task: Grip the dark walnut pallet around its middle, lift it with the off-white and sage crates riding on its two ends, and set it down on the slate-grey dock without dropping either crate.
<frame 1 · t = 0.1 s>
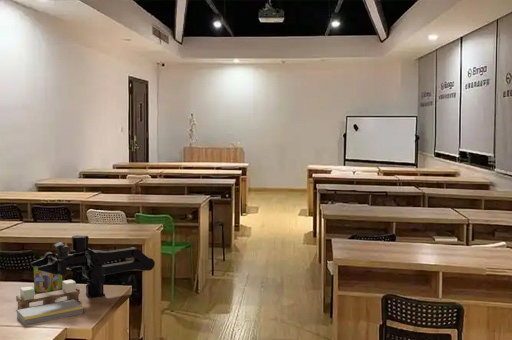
hand: (34, 266, 225), 17 cm above the table, tool horizontal, fingers open, 9 cm apart
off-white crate: (69, 290, 234), point 4 cm above the table, touching pallet
pallet: (48, 303, 229), on the table, touching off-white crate, sage crate
dock: (50, 315, 215), on the table
sage crate: (27, 298, 224), point 4 cm above the table, touching pallet
chalk box: (48, 290, 249), on the table
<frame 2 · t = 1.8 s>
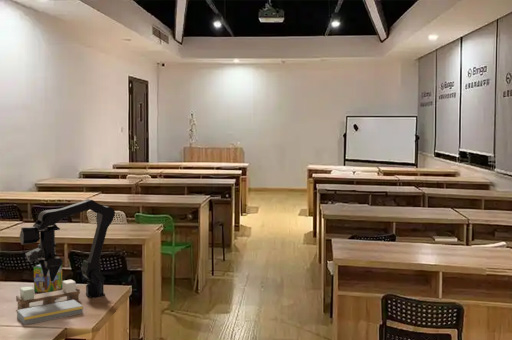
hand: (48, 278, 228), 11 cm above the table, tool pointing down, fingers open, 9 cm apart
nothing on the table moved.
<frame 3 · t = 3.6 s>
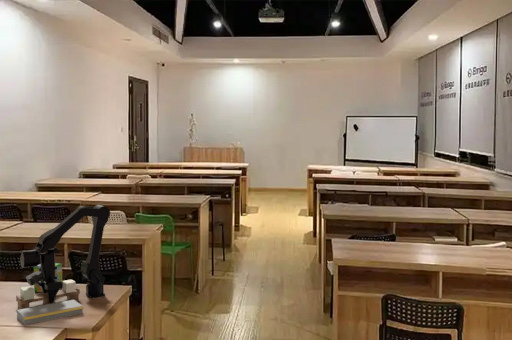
hand: (48, 301, 229), 1 cm above the table, tool pointing down, fingers closed on pallet, 6 cm apart
pallet: (48, 303, 229), on the table, touching gripper, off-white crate, sage crate
everything else where it was.
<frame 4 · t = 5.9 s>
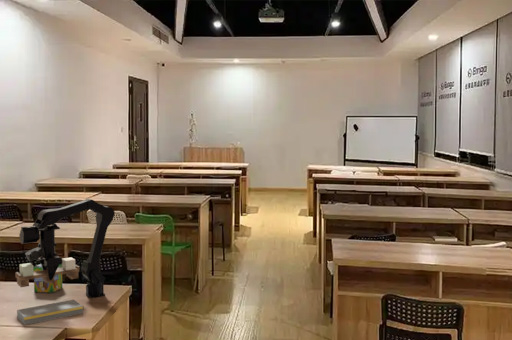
hand: (48, 278, 228), 11 cm above the table, tool pointing down, fingers closed on pallet, 6 cm apart
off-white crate: (68, 268, 233), point 14 cm above the table, touching pallet
pallet: (48, 280, 228), point 10 cm above the table, touching gripper, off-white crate, sage crate
sage crate: (26, 274, 223), point 14 cm above the table, touching pallet
everything else where it was.
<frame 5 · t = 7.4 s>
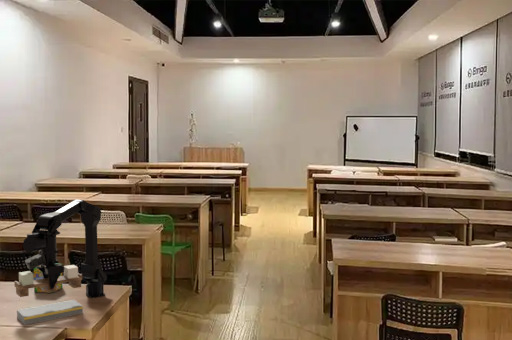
hand: (49, 286, 215), 11 cm above the table, tool pointing down, fingers closed on pallet, 6 cm apart
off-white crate: (70, 276, 220), point 14 cm above the table, touching pallet
pallet: (49, 290, 215), point 10 cm above the table, touching gripper, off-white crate, sage crate
sage crate: (26, 283, 209), point 14 cm above the table, touching pallet
everything else where it was.
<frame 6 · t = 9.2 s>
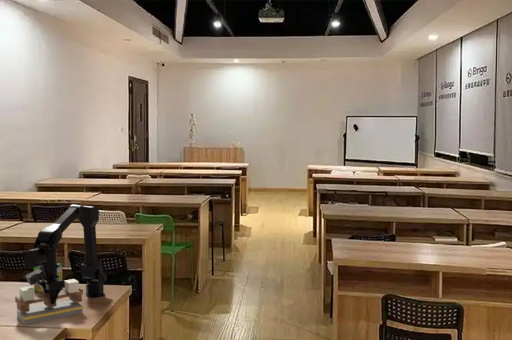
hand: (50, 301, 214), 5 cm above the table, tool pointing down, fingers closed on pallet, 6 cm apart
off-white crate: (71, 290, 219), point 8 cm above the table, touching pallet
pallet: (50, 304, 215), point 4 cm above the table, touching gripper, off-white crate, sage crate
sage crate: (27, 298, 209), point 8 cm above the table, touching pallet
everything else where it was.
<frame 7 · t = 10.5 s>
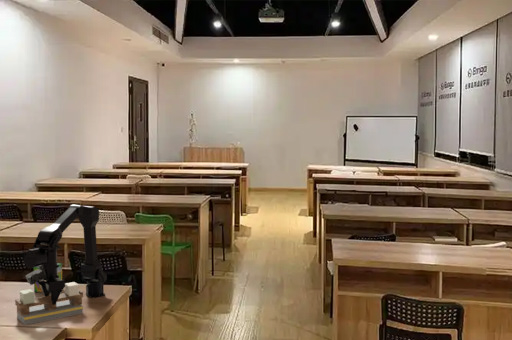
hand: (50, 301, 214), 5 cm above the table, tool pointing down, fingers open, 9 cm apart
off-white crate: (71, 293, 219), point 7 cm above the table, touching pallet
pallet: (50, 307, 215), point 3 cm above the table, touching dock, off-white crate, sage crate
sage crate: (27, 301, 209), point 7 cm above the table, touching pallet
everything else where it was.
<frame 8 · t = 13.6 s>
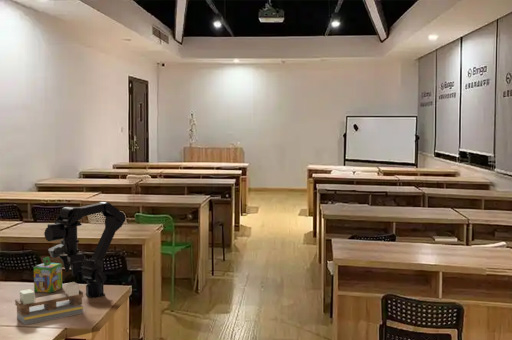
hand: (70, 274, 230), 12 cm above the table, tool pointing down, fingers open, 9 cm apart
nothing on the table moved.
at the end: pallet inside the target area on the dock (0.1 cm from its centre), point 3.0 cm above the dock's base; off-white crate inside the target area on the pallet (8.5 cm from its centre), point 4.0 cm above the pallet's base; sage crate inside the target area on the pallet (8.5 cm from its centre), point 4.0 cm above the pallet's base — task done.
